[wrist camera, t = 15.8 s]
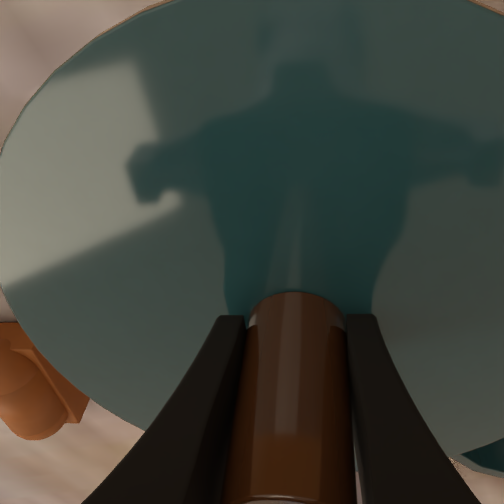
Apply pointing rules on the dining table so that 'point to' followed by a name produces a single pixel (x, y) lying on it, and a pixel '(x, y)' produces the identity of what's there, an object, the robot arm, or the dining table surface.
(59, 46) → the dining table surface
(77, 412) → the bread
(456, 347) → the lid
